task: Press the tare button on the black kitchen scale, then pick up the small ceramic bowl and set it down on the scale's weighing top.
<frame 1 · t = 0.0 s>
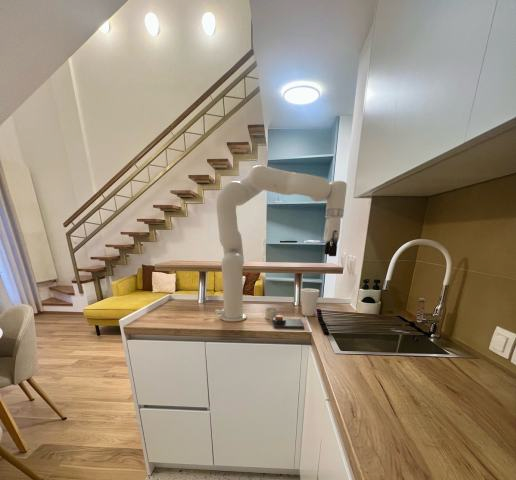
hand: (329, 255, 128), 31 cm above the countertop, tool pointing down, fingers open, 9 cm apart
bowl: (272, 318, 142), on the countertop
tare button: (279, 317, 131), point 4 cm above the countertop, slide at 0.1 cm
foam cup: (307, 314, 149), on the countertop
scale: (288, 325, 132), on the countertop
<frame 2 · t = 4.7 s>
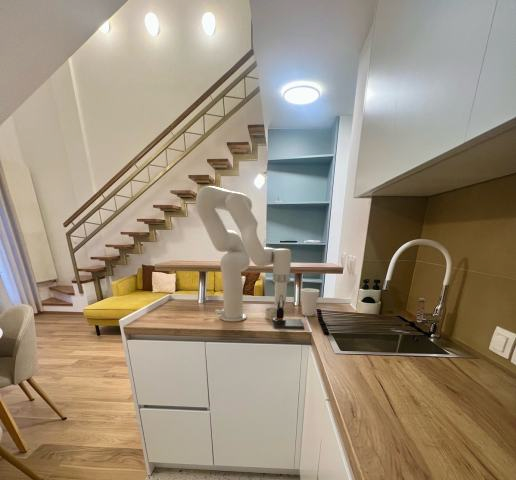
hand: (279, 317, 130), 4 cm above the countertop, tool pointing down, fingers closed
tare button: (279, 319, 131), point 3 cm above the countertop, slide at -0.7 cm, touching gripper
everything else where it was.
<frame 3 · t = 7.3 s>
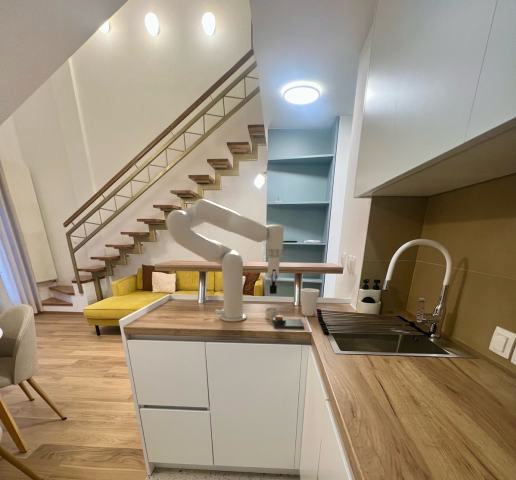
hand: (272, 292, 136), 13 cm above the countertop, tool pointing down, fingers open, 4 cm apart
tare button: (279, 317, 131), point 3 cm above the countertop, slide at 0.1 cm
everything else where it was.
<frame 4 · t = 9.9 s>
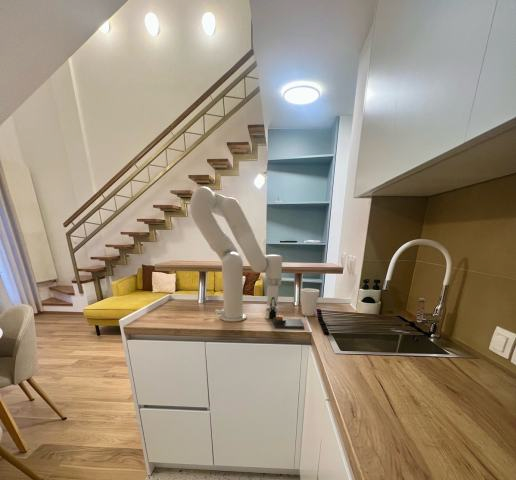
hand: (272, 316, 141), 1 cm above the countertop, tool pointing down, fingers closed on bowl, 6 cm apart
bowl: (272, 318, 142), on the countertop, touching gripper
everything else where it was.
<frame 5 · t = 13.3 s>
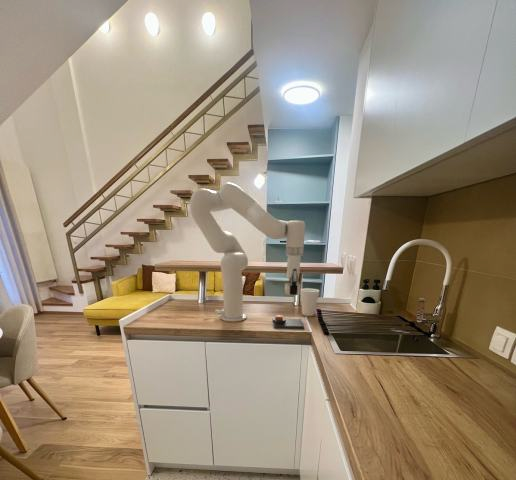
hand: (292, 292, 127), 15 cm above the countertop, tool pointing down, fingers closed on bowl, 6 cm apart
bowl: (292, 294, 128), point 14 cm above the countertop, touching gripper
everything else where it was.
when the fingers open (2 cm above the countertop, at t = 16.8 s): bowl stays where it is, resting on scale.
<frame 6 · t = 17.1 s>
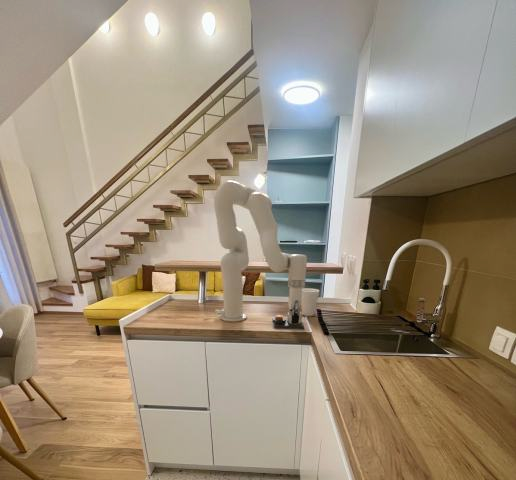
hand: (293, 320, 131), 2 cm above the countertop, tool pointing down, fingers open, 8 cm apart
bowl: (294, 322, 131), point 1 cm above the countertop, touching scale
everything else where it was.
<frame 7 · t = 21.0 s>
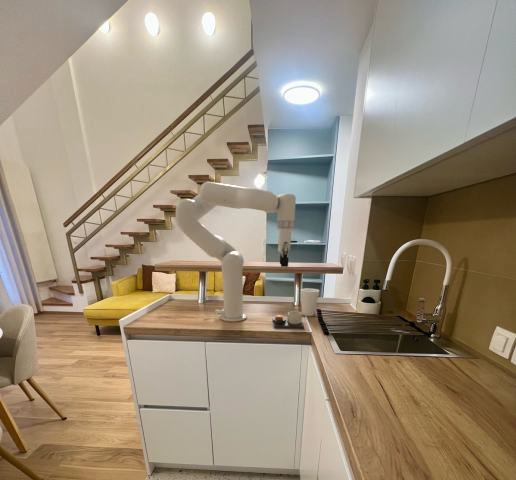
hand: (283, 265, 130), 26 cm above the countertop, tool pointing down, fingers open, 9 cm apart
nothing on the countertop moved.
at the end: bowl 0.1 cm from the target spot on the scale, point 1.4 cm above the scale's base; bowl tilted 0°; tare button pushed in 0.9 cm at the most during the clip, back to where it started at the end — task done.
